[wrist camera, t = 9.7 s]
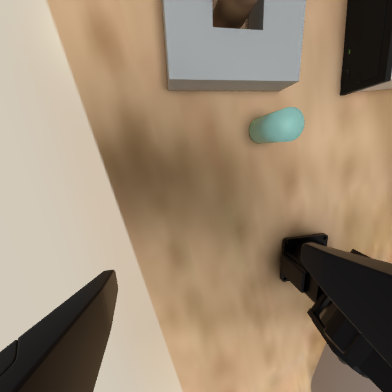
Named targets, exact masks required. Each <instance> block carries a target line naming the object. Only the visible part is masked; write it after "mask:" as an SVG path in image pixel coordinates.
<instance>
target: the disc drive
mask: <svg viewBox="0 0 392 392" xmlns="http://www.w3.org/2000/svg"><path fill="white" fill-rule="evenodd" d="M385 89H392V0H348V4H347V16H346V29H345V41H344V54H343V66H342V78H341V91H340V95H347V94H350V93H353V92H362V91H374V90H385Z"/></svg>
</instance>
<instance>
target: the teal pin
mask: <svg viewBox="0 0 392 392" xmlns="http://www.w3.org/2000/svg"><path fill="white" fill-rule="evenodd" d="M303 128H304V117H303V114H302V112H301V111H300V110H299V109H297V108H295V107H288V108H285V109H282V110H279V111H276V112H273V113H270V114H267V115H264V116H261V117H258V118H256V119H255V120H253V121H252V123H251V125H250V127H249V135H250V138H251V139H252V140H253V141H254V142H256V143H272V142H286V141H293V140H295V139H296V138H298V137H299V136H300V134H301V133H302V131H303Z"/></svg>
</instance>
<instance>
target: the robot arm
mask: <svg viewBox="0 0 392 392" xmlns="http://www.w3.org/2000/svg"><path fill="white" fill-rule="evenodd" d="M327 240H328V236H327V235H326V234H324V233H322V234H314V235H307V236H299V237H291V238H285V239H284V240H283V246H282V256H281V268H280V279H281V280H282V281H283V282H286V281H291V282H292V283H293V285H294V286H295V287H296V288H297V289H298V290H299V291H300V292H302V293H305V294H306V295H307V296H308V297H309V298H310V299H311V300H312V301H313V302H314V303H315V304H314V305H313V306H312V308H310V309H309V310H308V312H307V313H308V314H309V316H310V317H311V319H312V321H313V323H314V324H315V326H316V327H317V329H318V330H319V332H320V333H321V335H322V336H323V338H324V339H325V341H326V342H327V344H328V345H329V347H330V348H331V350H332V351H333V352H334V353H335V354H336V355H337V357H338V359H339V360H340V361H341V362H342V363H343V364H347V365H349V366H350V367H351V368H352V369H353V370H355V371H356V372H358V373H359V374H361V375H362V376H364V377H366V378H369V379H370V380H372V382H373V383H374V384H375V385H376V386H377V387H378V388H379V389H380V390H381V391H383V392H392V264H391V263H387V262H383V261H380V260H376V259H372V258H370V257H368V256H366V255H364V254H362V253H360V252H358V251H356V250H354V249H352V251H351V252H350V253H349V252H345V251H341V250H338V249H334V248H330V247H328V246H327ZM287 241H288V242H287ZM117 292H118V284H117V279H116V273H115V271H114V270H108V271H103V272H102V273H101V274H100V275H98V276H97V277H96V278H94V279H93V280H92V281H91V282H89V283H88V284H87V285H86V286H84V287H83V288H82V289H80V290H79V291H78V292H76V293H75V294H74V295H73V296H71V297H70V298H69V299H68V300H66V301H65V302H64V303H62V304H61V305H60V306H59V307H57V308H56V309H55V310H53V311H52V312H51V313H50V314H49V315H47V316H46V317H44V318H43V319H42V320H41V321H39V322H38V323H37V324H36V325H34V326H33V327H32V328H30V329H29V330H28V331H27V332H25V333H24V334H23V335H21V336H20V337H19V338H18V340H15V341H14V342H12V343H11V344H10V345H9V346H7V347H6V348H5V349H4V350H2V351H1V352H0V392H93V390H94V386H95V383H96V380H97V376H98V373H99V369H100V366H101V362H102V359H103V355H104V352H105V349H106V345H107V341H108V338H109V335H110V331H111V326H112V321H113V315H114V310H115V303H116V298H117Z"/></svg>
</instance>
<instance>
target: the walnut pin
mask: <svg viewBox="0 0 392 392" xmlns="http://www.w3.org/2000/svg"><path fill="white" fill-rule="evenodd" d="M257 1H258V0H218V2H217V5H216V8H215V11H214V13H213V27H218V28H234V29H240V28H241V26H242V25H243V23H244V22H245V20H246V18H247V17H248V15H249V14H250V12H251V11H252V9H253V7H254V6H255V4H256V3H257Z"/></svg>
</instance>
